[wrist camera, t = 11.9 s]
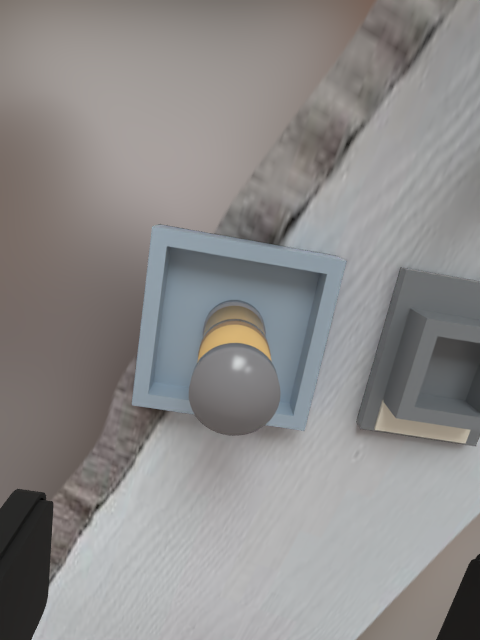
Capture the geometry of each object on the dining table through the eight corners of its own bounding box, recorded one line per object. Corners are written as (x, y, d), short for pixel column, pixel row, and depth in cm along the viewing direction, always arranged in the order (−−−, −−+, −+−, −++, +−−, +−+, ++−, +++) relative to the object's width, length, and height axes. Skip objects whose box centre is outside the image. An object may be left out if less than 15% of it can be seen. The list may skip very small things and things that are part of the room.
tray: (159, 224, 27) (152, 226, 24) (336, 255, 28) (346, 261, 25) (139, 388, 30) (131, 405, 28) (298, 412, 31) (304, 430, 28)
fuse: (209, 294, 28) (195, 344, 18) (269, 305, 28) (289, 359, 18) (199, 352, 29) (182, 428, 19) (258, 362, 29) (270, 441, 19)
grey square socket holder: (400, 267, 28) (423, 276, 24) (524, 289, 28) (564, 301, 25) (356, 421, 31) (371, 448, 28) (468, 438, 32) (496, 467, 28)
